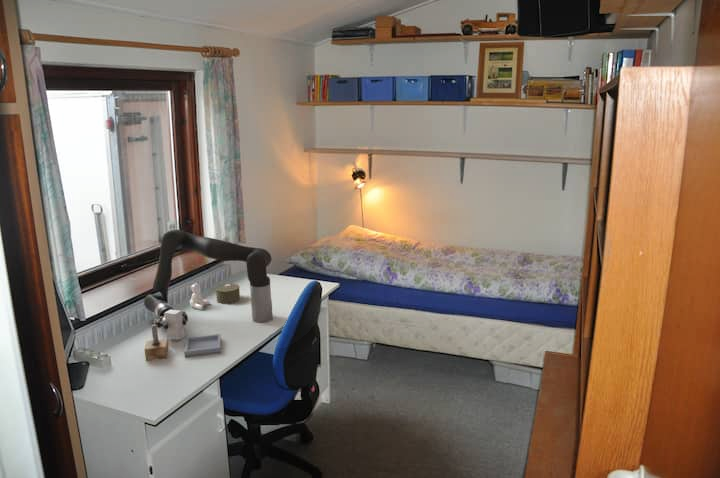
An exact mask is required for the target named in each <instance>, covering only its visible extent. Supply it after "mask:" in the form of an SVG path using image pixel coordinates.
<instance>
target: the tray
mask: <svg viewBox="0 0 720 478" xmlns="http://www.w3.org/2000/svg"><path fill="white" fill-rule="evenodd" d="M185 338H186V339H185V345H184V358H190V357H191V358H192V357H199V356H208V355H219V354H221V350H222V345H221V343H222V341H221V340H222V338H221V334H220V333H217V334H209V335H208V334H206V335H198V336H197V335H196V336H187V337H185Z"/></svg>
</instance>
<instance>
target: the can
mask: <svg viewBox="0 0 720 478" xmlns="http://www.w3.org/2000/svg"><path fill="white" fill-rule="evenodd" d="M215 295H216V302H217V303H218V304H220V303H221V304H222V305H231V304H235V303H237V302H239V301H240V300H241V298H240V297H241V295H240V285H239V284H237V283H225V284H220V285H217V286H215ZM221 304H220V305H221Z"/></svg>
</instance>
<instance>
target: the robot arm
mask: <svg viewBox="0 0 720 478" xmlns="http://www.w3.org/2000/svg"><path fill="white" fill-rule="evenodd" d="M179 249H180V250H189V251H192V252H193V251H194V252H197V253H199V254H200V255H202V256H204V257H206V258H207V259H214V260H217V261H222V262H233V261H239V262H245V263H246V264H245V265H246V272H247V273H246V274H247V280H248V281H249V286H250V287H249V289H250V301H251V302H250V303H251V319H252V321H253V322H255V323H266V322H267V323H268V322H271V321H273V319H274V316H273V302H272V301H273V300H272V290H271V279H270V277H269V276H268V275H267V274H268V273H267V267H268V266H269V265H270V264H271V262H272V260H273V259H272V255H271V253H270V252H269V251H268V250H267V249H264V248H261V247H260V248H259V247H252V246H245V245H241V244H237V243H234V242H230V241H225V240H222V239H218V238H212V237H208V236H207V237H206V236H202V235H201V236H199V235H195V234H193V233H190V232H187V231H184V230H182V229H169V230H166V231H165V232H164V233H163V234H162V236H161V243H160V252H159V259H158V264H157V268H156V272H155V273H156V274H155V277H154V280H153V283H152V289H153V290H154V291H156V292H159V293H161V294H160V295H159V294H153V293H151V294H147V295H146V296H145V298H144V300H143V305H144V307H145V309H147V310H148V311H150V312H152V313H154V314H155V316H156V317H154V318H152V319H153V325H157V329H160V328H163V329H164V330H167V329H168V324H167V323H166V322H165V314H164V313H165V312H167V311H168V310H170V309H171V310H175V309H174V308H173V306H172V305H170V304H169V298H168V297H169V296H168V295H169V287H170V283H171V280H172V276H173V266H172V264H173V258H174V255H175V252H176V250H179ZM182 319H183V326H186V325H187V322H188V321H189V318H188V314H187V312H186V311H182Z"/></svg>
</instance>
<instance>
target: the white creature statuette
mask: <svg viewBox="0 0 720 478" xmlns="http://www.w3.org/2000/svg"><path fill="white" fill-rule="evenodd" d="M189 289H190V290H191V291H192V292H193V293H192V294H191V298H190V300H189V305H190V307H193V309H195V308H196V309H195V310H198V309H199V311H203V310H204V307H205V306H207V305H208V304H209V305H210V300H209V299H203V296H202V294H201V287H200V284H199V283H194V284H192V285H191V286H190V287H189ZM203 306H204V307H203Z"/></svg>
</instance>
